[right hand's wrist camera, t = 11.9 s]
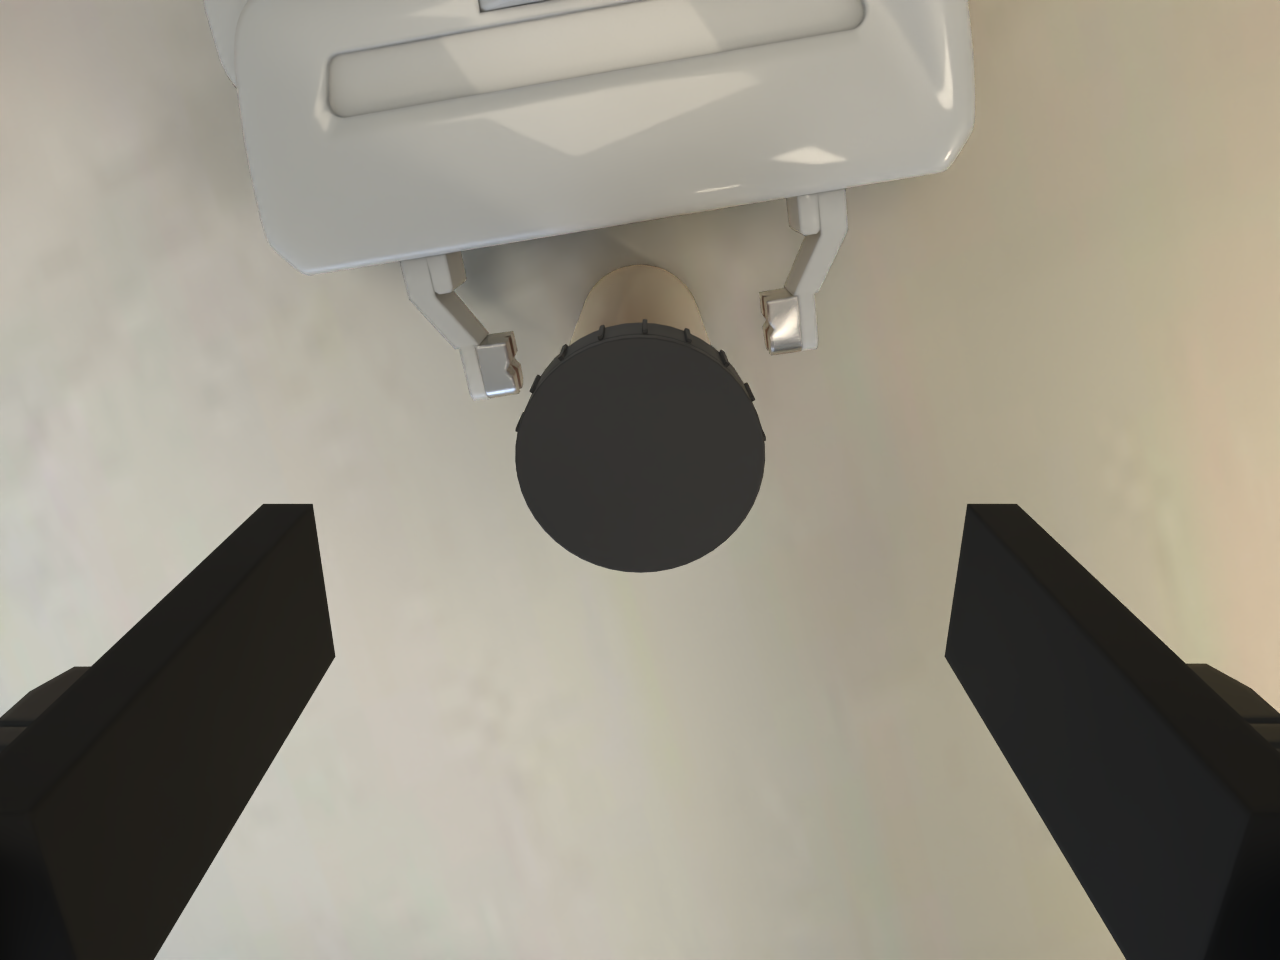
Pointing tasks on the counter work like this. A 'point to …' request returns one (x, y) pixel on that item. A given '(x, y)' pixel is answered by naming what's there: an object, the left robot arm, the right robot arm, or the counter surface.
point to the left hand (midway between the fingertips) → (643, 371)
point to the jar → (640, 302)
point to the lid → (640, 448)
